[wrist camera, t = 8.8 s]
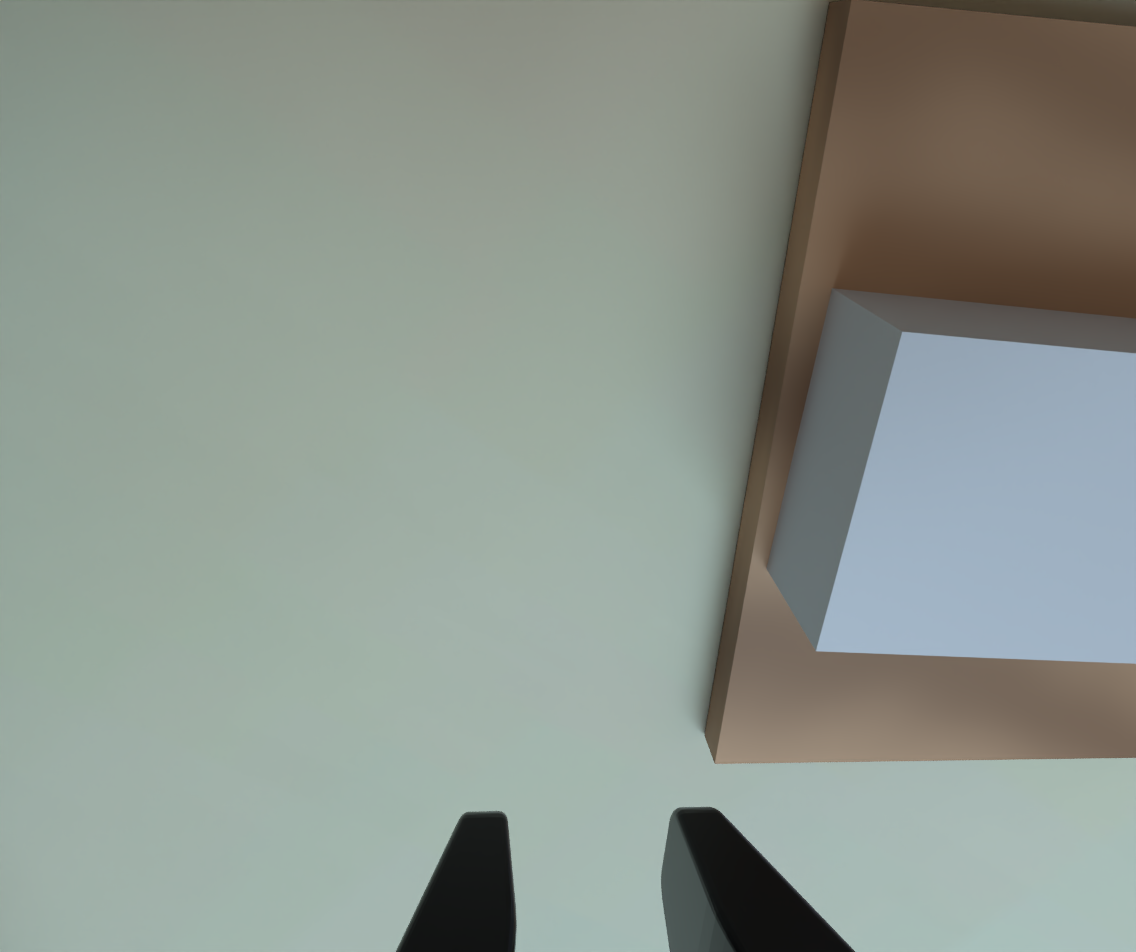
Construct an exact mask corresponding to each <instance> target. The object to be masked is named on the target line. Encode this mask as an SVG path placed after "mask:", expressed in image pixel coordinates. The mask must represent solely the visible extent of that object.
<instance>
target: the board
mask: <svg viewBox="0 0 1136 952" xmlns="http://www.w3.org/2000/svg"><path fill="white" fill-rule="evenodd" d="M832 288H834V289H844V290H854V291H864V292H874V293H884V294H894V295H904V296H914V297H924V298H934V299H944V300H954V301H965V302H975V303H985V304H995V305H1005V306H1015V307H1025V308H1035V309H1045V310H1055V311H1065V312H1075V313H1085V314H1095V315H1105V316H1115V317H1125V318H1135V319H1136V27H1134V26H1123V25H1113V24H1103V23H1092V22H1082V21H1072V20H1061V19H1051V18H1041V17H1030V16H1020V15H1010V14H999V13H989V12H979V11H968V10H958V9H948V8H937V7H927V6H917V5H906V4H896V3H886V2H875V1H865V0H843V1H836V2H830V3H829V8H828V14H827V20H826V26H825V32H824V38H823V44H822V49H821V55H820V61H819V67H818V73H817V79H816V85H815V90H814V96H813V102H812V108H811V114H810V120H809V126H808V132H807V137H806V143H805V149H804V155H803V161H802V167H801V173H800V178H799V184H798V190H797V196H796V202H795V208H794V214H793V220H792V225H791V231H790V237H789V243H788V249H787V255H786V261H785V266H784V272H783V278H782V284H781V290H780V296H779V302H778V308H777V313H776V319H775V325H774V331H773V337H772V343H771V349H770V354H769V360H768V366H767V372H766V378H765V384H764V390H763V396H762V401H761V407H760V413H759V419H758V425H757V431H756V437H755V442H754V448H753V454H752V460H751V466H750V472H749V478H748V484H747V489H746V495H745V501H744V507H743V513H742V519H741V525H740V530H739V536H738V542H737V548H736V554H735V560H734V566H733V572H732V577H731V583H730V589H729V595H728V601H727V607H726V613H725V618H724V624H723V630H722V636H721V642H720V648H719V654H718V660H717V665H716V671H715V677H714V683H713V689H712V695H711V701H710V706H709V712H708V718H707V724H706V730H705V738H706V741H707V743H708V746H709V749H710V752H711V755H712V757H713V760H714V763H715V764H733V763H801V762H870V761H938V760H1006V759H1075V758H1136V664H1131V663H1105V662H1079V661H1054V660H1028V659H1002V658H977V657H951V656H925V655H900V654H874V653H848V652H823V651H815V649H814V647H813V646H812V644H811V642H810V641H809V639H808V637H807V636H806V634H805V632H804V631H803V629H802V627H801V626H800V624H799V622H798V621H797V619H796V617H795V616H794V614H793V612H792V611H791V609H790V607H789V606H788V604H787V602H786V601H785V599H784V597H783V596H782V594H781V592H780V591H779V589H778V587H777V586H776V584H775V582H774V581H773V579H772V577H771V576H770V574H769V572H768V571H767V569H766V568H767V564H768V560H769V556H770V551H771V547H772V543H773V538H774V534H775V530H776V526H777V521H778V517H779V513H780V509H781V504H782V500H783V496H784V492H785V487H786V483H787V479H788V475H789V470H790V466H791V462H792V457H793V453H794V449H795V445H796V440H797V436H798V432H799V428H800V423H801V419H802V415H803V411H804V406H805V402H806V398H807V394H808V389H809V385H810V381H811V376H812V372H813V368H814V364H815V359H816V355H817V351H818V347H819V342H820V338H821V334H822V330H823V325H824V321H825V317H826V313H827V308H828V304H829V300H830V295H831V291H832Z"/></svg>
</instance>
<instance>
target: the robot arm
mask: <svg viewBox="0 0 1136 952" xmlns="http://www.w3.org/2000/svg"><path fill="white" fill-rule="evenodd" d="M661 889H662V900H663V907H664V914H665V921H666V927H667V934H668V941H669V948H670V952H855V951H854V950H853V949H852V948H851V947H850V946H849V945H848V944H847V943H846V942H845V941H844V940H843V939H842V938H841V937H840V935H839V934H838V933H837V932H836V931H835V930H834V929H833V928H832V927H831V926H830V925H829V924H828V923H827V922H826V921H825V920H824V919H823V918H822V917H821V916H820V915H819V914H818V913H817V912H816V911H815V910H814V908H813V907H812V906H811V905H810V904H809V903H808V902H807V901H806V900H805V899H804V898H803V897H802V896H801V895H800V894H799V893H798V892H797V891H796V890H795V889H794V888H793V887H792V886H791V885H790V884H789V883H788V881H787V880H786V879H785V878H784V877H783V876H782V875H781V874H780V873H779V872H778V871H777V870H776V869H775V868H774V867H773V866H772V865H771V864H770V863H769V862H768V861H767V860H766V859H765V858H764V857H763V856H762V854H761V853H760V852H759V851H758V850H757V849H756V848H755V847H754V846H753V845H752V844H751V843H750V842H749V841H748V840H747V839H746V838H745V837H744V836H743V835H742V834H741V833H740V832H739V831H738V830H737V829H736V828H735V826H734V825H733V824H732V823H731V822H730V821H729V820H728V819H727V818H726V817H725V816H724V815H723V814H722V813H721V812H720V811H718V810H717V809H715V808H712V807H681V808H678V809H676V810H674V811H673V813H672V815H671V817H670V822H669V828H668V834H667V841H666V847H665V853H664V859H663V866H662V874H661ZM516 926H517V925H516V904H515V893H514V883H513V872H512V861H511V851H510V840H509V829H508V820H507V817H506V815H505V814H504V813H503V812H500V811H487V812H466V813H465V814H463V815H462V816H461V818H460V819H459V821H458V823H457V825H456V827H455V829H454V831H453V833H452V835H451V837H450V840H449V842H448V844H447V846H446V848H445V850H444V852H443V854H442V856H441V858H440V860H439V863H438V865H437V867H436V869H435V871H434V873H433V875H432V877H431V879H430V881H429V883H428V886H427V888H426V890H425V892H424V894H423V896H422V898H421V900H420V902H419V904H418V906H417V909H416V911H415V913H414V915H413V917H412V919H411V921H410V923H409V925H408V927H407V929H406V932H405V934H404V936H403V938H402V940H401V942H400V944H399V946H398V948H397V950H396V952H515V946H516Z"/></svg>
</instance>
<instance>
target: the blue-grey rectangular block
mask: <svg viewBox="0 0 1136 952" xmlns="http://www.w3.org/2000/svg"><path fill="white" fill-rule="evenodd" d="M766 569H767V571H768V572H769V574H770V576H771V577H772V579H773V581H774V582H775V584H776V586H777V587H778V589H779V591H780V592H781V594H782V596H783V597H784V599H785V601H786V602H787V604H788V606H789V607H790V609H791V611H792V612H793V614H794V616H795V617H796V619H797V621H798V622H799V624H800V626H801V627H802V629H803V631H804V632H805V634H806V636H807V637H808V639H809V641H810V642H811V644H812V646H813V647H814V649H815V651H823V652H848V653H874V654H900V655H925V656H951V657H977V658H1002V659H1028V660H1054V661H1079V662H1105V663H1131V664H1136V319H1135V318H1125V317H1115V316H1105V315H1095V314H1085V313H1075V312H1065V311H1055V310H1045V309H1035V308H1025V307H1015V306H1005V305H995V304H985V303H975V302H965V301H954V300H944V299H934V298H924V297H914V296H904V295H894V294H884V293H874V292H864V291H854V290H844V289H834V288H832V291H831V295H830V300H829V304H828V308H827V313H826V317H825V321H824V325H823V330H822V334H821V338H820V342H819V347H818V351H817V355H816V359H815V364H814V368H813V372H812V376H811V381H810V385H809V389H808V394H807V398H806V402H805V406H804V411H803V415H802V419H801V423H800V428H799V432H798V436H797V440H796V445H795V449H794V453H793V457H792V462H791V466H790V470H789V475H788V479H787V483H786V487H785V492H784V496H783V500H782V504H781V509H780V513H779V517H778V521H777V526H776V530H775V534H774V538H773V543H772V547H771V551H770V556H769V560H768V564H767V568H766Z"/></svg>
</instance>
